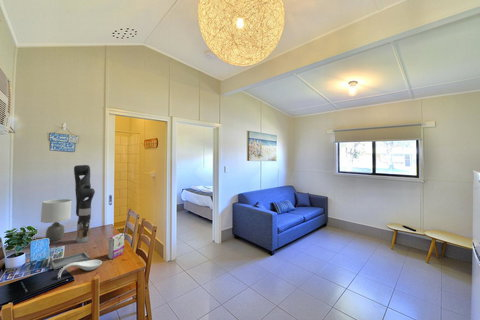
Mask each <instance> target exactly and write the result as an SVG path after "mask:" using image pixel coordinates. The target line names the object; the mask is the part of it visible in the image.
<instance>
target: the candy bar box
mask: <svg viewBox="0 0 480 320" xmlns="http://www.w3.org/2000/svg"><path fill="white" fill-rule="evenodd" d="M125 238H126V237H125V233H121V232H120V233H117V234H115V235H113V236H110V237H108V252H107V253H108V254H107V257H108V259H110V260H114V259H117V258H118V257H120V256H121V255H123V254H125ZM122 253H123V254H122ZM119 255H120V256H119ZM117 256H118V257H117Z"/></svg>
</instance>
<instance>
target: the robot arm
mask: <svg viewBox="0 0 480 320" xmlns="http://www.w3.org/2000/svg"><path fill="white" fill-rule="evenodd" d="M73 173H74V183H75V185H74V186H75V200H76V201H75V203H76V205H75V213H76V214H75V215H76V216H77V217H78V220H77V224H76V225H77V226H76V236H75V237H76V239H75V240H76V241H75V242H76V243H77V244H83V243H86V242H89V240H90V236H89V237H86V236H87V231H88V229H90V224H91V223H90V222H91V217H92V200H93V198H94V195H95V189H94V188H93V187H92V186H91V166H90V165H87V164H81V165H75V166H74V168H73ZM80 176H83V177H82V178H81V177H80ZM81 228H82V229H83V237H85V238H78V237H77V236H78V229H81ZM85 229H86V230H85Z"/></svg>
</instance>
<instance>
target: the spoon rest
mask: <svg viewBox="0 0 480 320" xmlns="http://www.w3.org/2000/svg"><path fill="white" fill-rule="evenodd" d="M102 263H103V261H102V260H101V259H90V260H89V261H82V262H74V263H70V264H68V265H66V266H64V267H63V268H61V269H59V271H58V273H57V275H58V277H57V279H58V278H59V277H60V278H61V277H62V273H63V272H64V271H65V270H66V269H68V268H71V267H74V266H75V267H78V268H80V269H82V270H84V271H87V272H90V271H94V270H95V269H98V268H99V267H100V266H101V265H102Z"/></svg>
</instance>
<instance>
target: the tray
mask: <svg viewBox="0 0 480 320" xmlns="http://www.w3.org/2000/svg"><path fill="white" fill-rule="evenodd" d="M89 260H91V257H90V256H89V255H88V254H87V252H85V251H83V252H78V253H75V254H71V255H68V256H63V257H59V258H55V259H52V260H50V266H51V267H52V270H53V269H58V268H61V267H64V266H66V265H68V264H70V263H74V262H82V261H89Z"/></svg>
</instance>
